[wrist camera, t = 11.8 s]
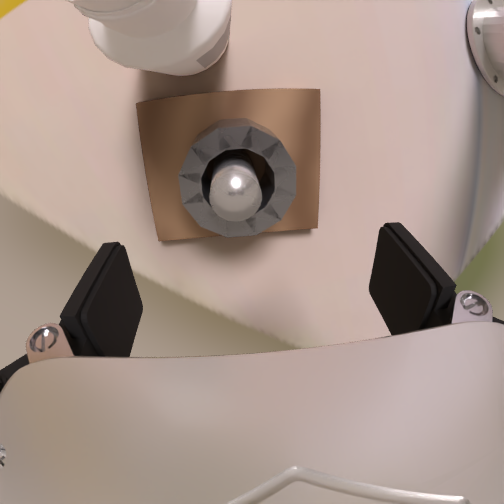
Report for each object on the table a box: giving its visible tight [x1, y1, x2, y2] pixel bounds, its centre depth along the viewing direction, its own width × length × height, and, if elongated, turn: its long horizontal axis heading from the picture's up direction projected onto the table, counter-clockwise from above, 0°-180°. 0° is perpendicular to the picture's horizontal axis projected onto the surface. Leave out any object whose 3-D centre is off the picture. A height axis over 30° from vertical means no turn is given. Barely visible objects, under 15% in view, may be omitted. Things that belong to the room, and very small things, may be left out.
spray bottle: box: [66, 0, 232, 76], centre depth 11 cm, size 7×7×18 cm
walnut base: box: [136, 89, 320, 241], centre depth 24 cm, size 14×12×2 cm
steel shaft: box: [209, 149, 262, 221], centre depth 20 cm, size 3×3×7 cm
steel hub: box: [178, 118, 296, 238], centre depth 21 cm, size 7×7×5 cm
